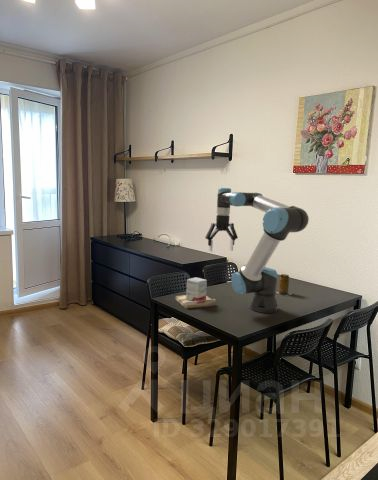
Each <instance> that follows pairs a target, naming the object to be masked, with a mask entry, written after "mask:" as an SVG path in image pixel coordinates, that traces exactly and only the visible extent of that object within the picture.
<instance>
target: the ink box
mask: <svg viewBox="0 0 378 480" xmlns="http://www.w3.org/2000/svg"><path fill="white" fill-rule="evenodd" d="M207 281H208V280H207V279H204V278H201V277H191V278H188V279H186V294H185V295H186V299H187V300H190V301H199V300H206V296H207V290H208V289H207V287H208V286H207V285H208V283H207Z"/></svg>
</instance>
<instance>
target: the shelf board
mask: <svg viewBox="0 0 378 480" xmlns="http://www.w3.org/2000/svg"><path fill="white" fill-rule="evenodd" d="M174 299H175V301H177V302H178V303H179V304H181V306H182V307H184V308H185V309H193V308H202V307H203V308H204V307H211V306H212V307H214V306H216V302H217V301H216V298H213V299H212V298H211V297H209V296H207V295H206V300H199V301H190V300H187V299H186V294H182V295H175V298H174Z"/></svg>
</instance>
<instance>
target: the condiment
mask: <svg viewBox="0 0 378 480" xmlns="http://www.w3.org/2000/svg"><path fill="white" fill-rule="evenodd" d="M279 277H280V278H278V279H279V280H278V291H276V293H275V294H278V295H283V296H286V297H287V296H292V295H293V293H291V292H289V287H290V279H289V277H290V276H289V275H288V274H286V273H283V274H280V276H279Z"/></svg>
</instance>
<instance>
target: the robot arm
mask: <svg viewBox="0 0 378 480" xmlns="http://www.w3.org/2000/svg"><path fill="white" fill-rule="evenodd" d="M216 200H217V202H216V203H217V204H216V205H217V206H216V214H217V215H216V219H215V220H216V222H215V223H214V222H211V223H210V227H209V229H208V231H207V233H206V235H205V238H204V239H206V240H207V241H208V242H207V244H208V247H209V248H208V251H209V252H213V244H214V243H213V239H214V238H215V236H216V235H217V234H218V233H219V232H222V231H223V232H226V234H227V235H228V236H229V238H230V239H229V248H228V250H229V251H231V252H232V251H234V245H235V241H236V240H237V239H238V238H239V237H238V234H237V231H236V228H235V224H234V223H233V222H230V218H231V217H230V214H231V206H232V207H252V208H255V209H257V210H259V211H261V212H264V215H263V218H262V221H263V222H262V228H263V229H262V230H263V234H262V236H261V237H260V240H259V241H258V243H257V245H256V246H255V248H254V250H253V252H252V254H251V256H250V257H249V260H248V261H247V263H246V264H244V265H242V266H241V268H240V269H239V271H236V272H233V273H232V274H231V279H230V280H231V286H232V289H233V290H234V292H235V293H236V294H239V295H240V294H241V295H246V294H250V293H251V294H253V296H252V298H251V300H250V302H249V308H250V309H251V310H252V311H255V312H258V313H264V314H273V313H276V312H278V306H279V305H278V302H277V298H276V294H277V293H276V292H277V281H278V272H277V270H276V269H274V268H270V267H266V265H267V264H268V263H269V260H270V259H271V257H272V255H273V254H274V252H275V251H276V249H277V248H278V245H279V244H280V242H283V241H285V240H286V239H287V237H288V236H289V234H290V233H299V232H302V231H304V229H306V228H307V226H308V224H309V221H310V220H309V214H308V213H307V211H306V210H304V209H303V208H300V207H299V206H298V207H297V206H295V205H290V206H289V205H287V204H285V203H281V202H280V201H279V202H278V201H276V200H273V199H270V198H268V197H265V196H263V194H262V193H259V192H243V191H242V192H240V191H237V192H236V191H232V189H231V188H229V187H219V188H218V190H217V199H216ZM229 227H230V228H229Z"/></svg>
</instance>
